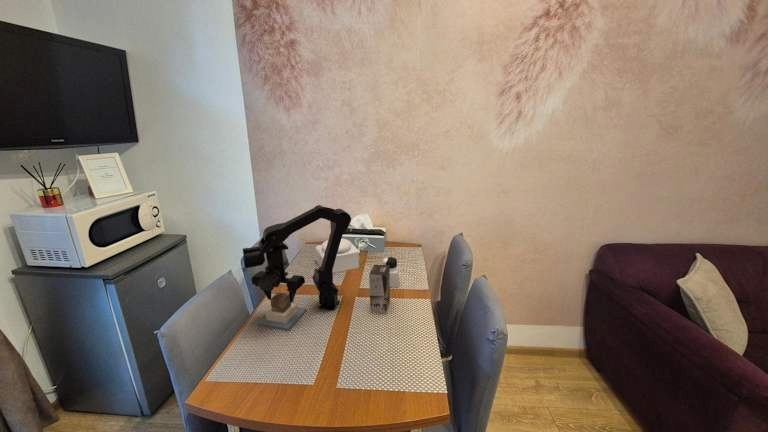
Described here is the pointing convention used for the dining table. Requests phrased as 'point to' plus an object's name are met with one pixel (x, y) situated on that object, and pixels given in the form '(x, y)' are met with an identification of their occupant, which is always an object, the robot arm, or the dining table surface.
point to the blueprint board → (280, 325)
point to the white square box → (341, 256)
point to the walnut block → (280, 302)
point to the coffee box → (379, 288)
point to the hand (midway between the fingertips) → (280, 300)
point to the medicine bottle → (392, 270)
